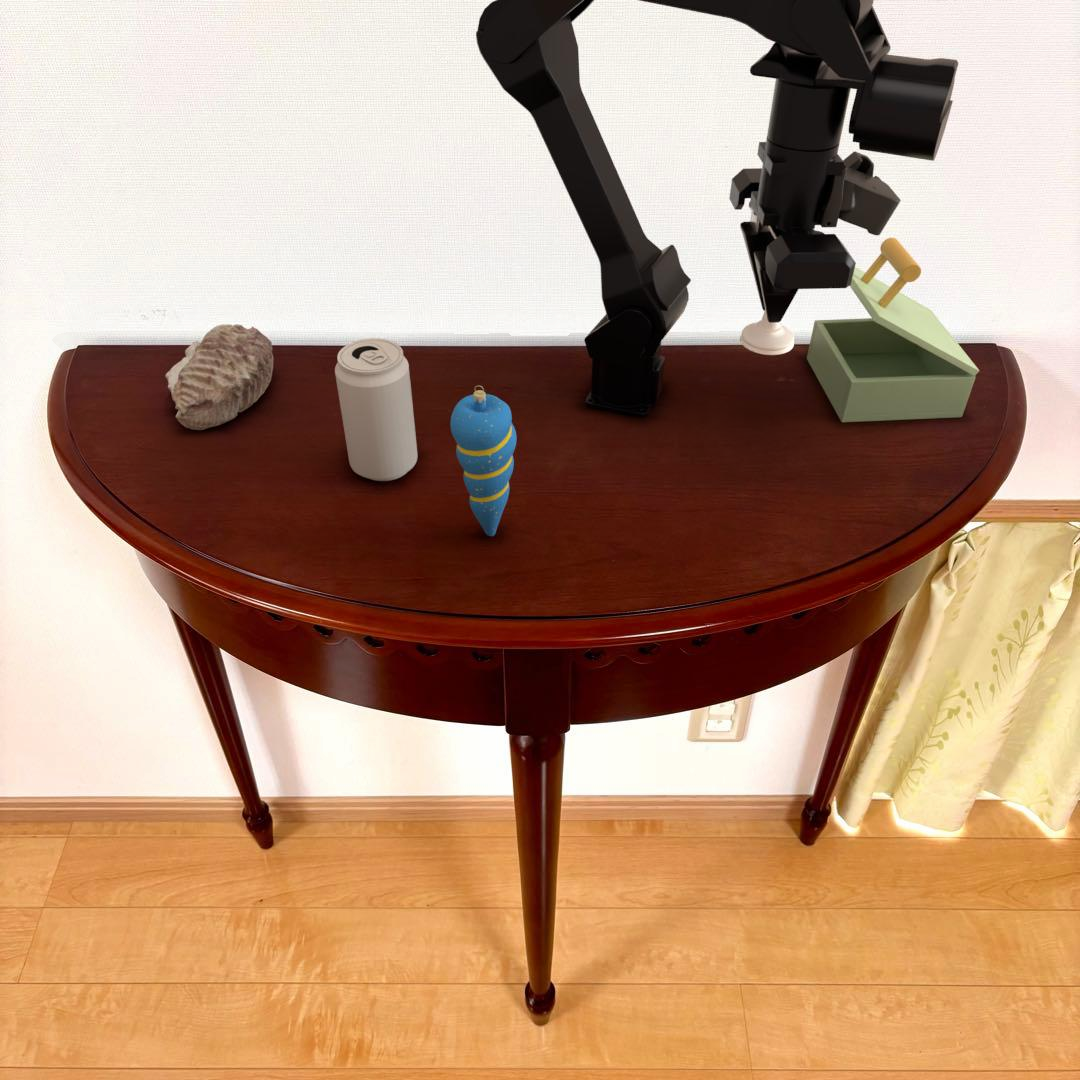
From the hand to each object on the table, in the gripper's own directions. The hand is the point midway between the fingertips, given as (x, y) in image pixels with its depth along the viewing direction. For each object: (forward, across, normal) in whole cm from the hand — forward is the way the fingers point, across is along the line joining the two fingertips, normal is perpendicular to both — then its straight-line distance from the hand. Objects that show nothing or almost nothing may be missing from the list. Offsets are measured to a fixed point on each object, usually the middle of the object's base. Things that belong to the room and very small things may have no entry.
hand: (771, 315), depth 87 cm
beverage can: (+13, -4, +36) cm, 38 cm away
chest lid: (+4, +7, -16) cm, 18 cm away
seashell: (+13, +8, +53) cm, 55 cm away
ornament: (+13, -15, +26) cm, 33 cm away
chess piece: (+3, 0, 0) cm, 3 cm away
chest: (+12, +7, -15) cm, 21 cm away
